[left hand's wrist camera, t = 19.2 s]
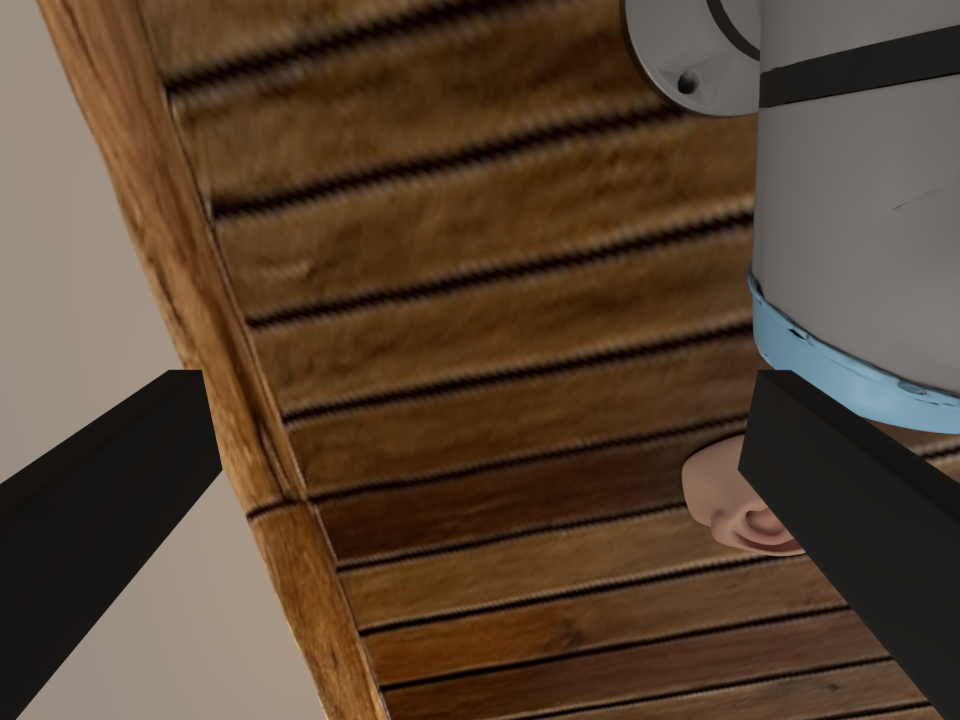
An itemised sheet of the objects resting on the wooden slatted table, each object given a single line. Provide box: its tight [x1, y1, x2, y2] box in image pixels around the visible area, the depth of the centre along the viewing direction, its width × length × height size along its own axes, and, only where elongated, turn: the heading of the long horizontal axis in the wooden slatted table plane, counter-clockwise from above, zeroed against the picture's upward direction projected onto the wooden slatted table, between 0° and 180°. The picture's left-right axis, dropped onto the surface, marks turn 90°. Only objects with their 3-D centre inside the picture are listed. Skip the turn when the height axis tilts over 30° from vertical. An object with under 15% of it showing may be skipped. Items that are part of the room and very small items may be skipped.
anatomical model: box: [682, 434, 806, 556], centre depth 45 cm, size 13×4×12 cm
